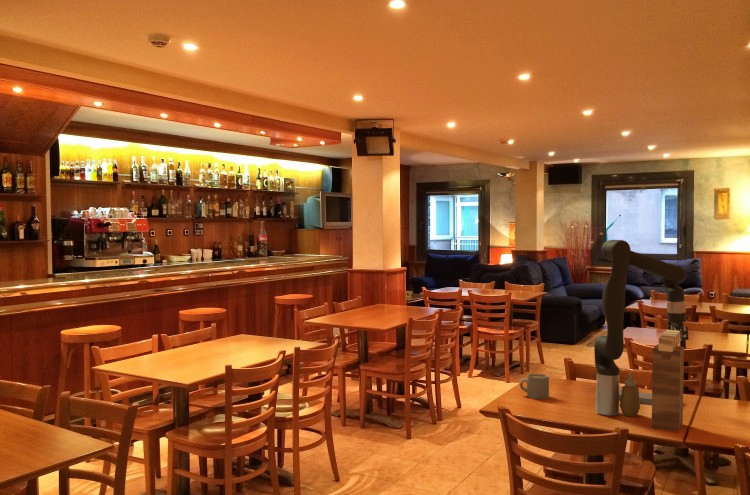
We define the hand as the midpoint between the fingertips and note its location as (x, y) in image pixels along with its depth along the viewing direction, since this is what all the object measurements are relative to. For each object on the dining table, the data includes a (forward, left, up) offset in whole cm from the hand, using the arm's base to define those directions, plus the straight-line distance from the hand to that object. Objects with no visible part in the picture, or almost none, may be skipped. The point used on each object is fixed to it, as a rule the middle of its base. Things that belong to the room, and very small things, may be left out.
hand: (678, 347), depth 281 cm
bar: (-10, -26, +5) cm, 29 cm away
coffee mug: (-62, +7, -28) cm, 68 cm away
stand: (-11, -29, -27) cm, 41 cm away
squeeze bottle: (-23, -16, -28) cm, 39 cm away
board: (-11, +9, -27) cm, 31 cm away
